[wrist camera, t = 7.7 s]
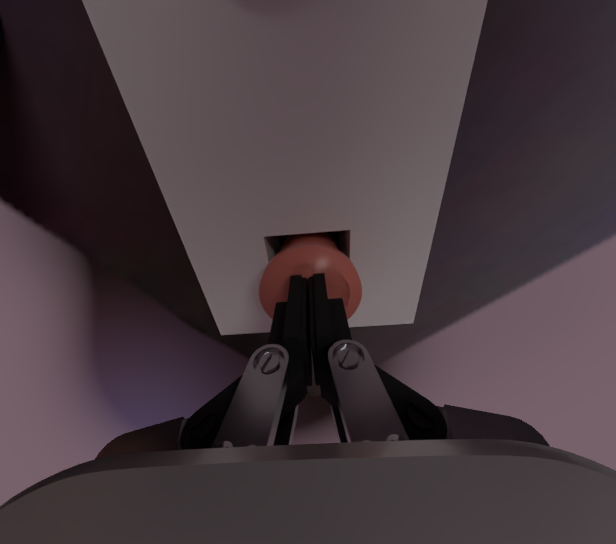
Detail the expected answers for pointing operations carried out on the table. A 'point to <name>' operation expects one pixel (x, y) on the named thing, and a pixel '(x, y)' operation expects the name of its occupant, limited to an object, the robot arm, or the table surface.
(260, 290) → the red button
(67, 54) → the table surface
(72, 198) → the table surface
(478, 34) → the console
